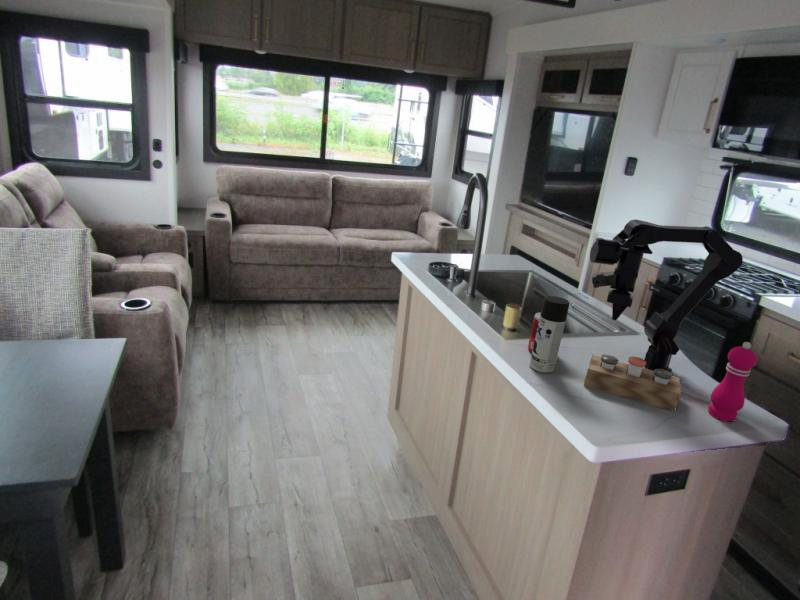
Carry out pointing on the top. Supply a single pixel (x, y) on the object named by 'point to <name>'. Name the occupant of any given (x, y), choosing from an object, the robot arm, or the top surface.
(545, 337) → the spray can
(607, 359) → the plug
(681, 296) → the robot arm
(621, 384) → the socket board
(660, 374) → the plug
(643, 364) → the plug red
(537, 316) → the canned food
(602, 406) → the top surface
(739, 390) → the pepper mill
